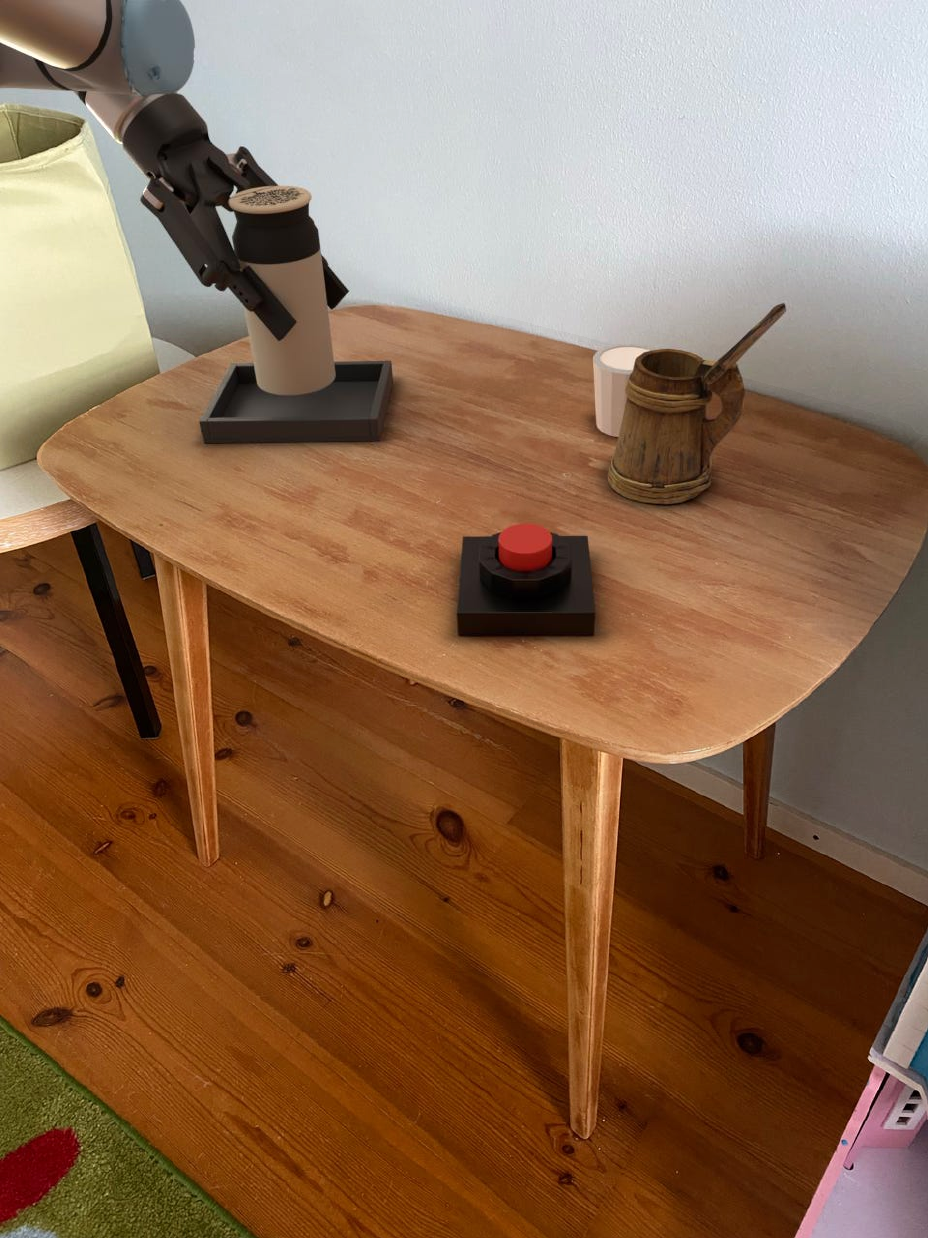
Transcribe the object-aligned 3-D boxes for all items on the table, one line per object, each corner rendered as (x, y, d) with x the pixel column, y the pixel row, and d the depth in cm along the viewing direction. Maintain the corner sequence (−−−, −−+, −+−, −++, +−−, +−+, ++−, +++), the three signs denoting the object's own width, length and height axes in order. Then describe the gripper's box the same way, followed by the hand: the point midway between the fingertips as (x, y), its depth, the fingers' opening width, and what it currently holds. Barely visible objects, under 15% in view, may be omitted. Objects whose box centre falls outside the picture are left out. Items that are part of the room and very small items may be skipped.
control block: (458, 636, 73) (455, 593, 70) (463, 558, 81) (461, 517, 78) (593, 636, 72) (596, 592, 70) (586, 557, 80) (588, 516, 78)
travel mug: (350, 382, 100) (330, 196, 89) (281, 406, 96) (251, 214, 85) (311, 358, 105) (286, 179, 94) (243, 379, 101) (210, 195, 90)
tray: (203, 443, 98) (198, 421, 96) (234, 383, 109) (230, 363, 107) (379, 441, 97) (377, 418, 95) (393, 381, 108) (391, 360, 106)
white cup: (610, 402, 101) (614, 337, 97) (671, 418, 98) (678, 351, 94) (577, 429, 97) (579, 362, 93) (639, 447, 94) (645, 378, 90)
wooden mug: (730, 532, 82) (763, 323, 71) (589, 486, 89) (599, 288, 77) (773, 486, 88) (809, 285, 76) (637, 446, 94) (653, 255, 83)
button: (498, 572, 73) (498, 553, 72) (499, 542, 76) (498, 523, 75) (552, 572, 72) (553, 552, 71) (551, 541, 76) (551, 522, 75)
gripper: (207, 124, 101) (354, 302, 104) (52, 175, 87) (228, 378, 90) (239, 68, 95) (393, 258, 99) (79, 112, 81) (266, 331, 85)
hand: (314, 315), depth 95 cm, fingers closed on travel mug, 8 cm apart
